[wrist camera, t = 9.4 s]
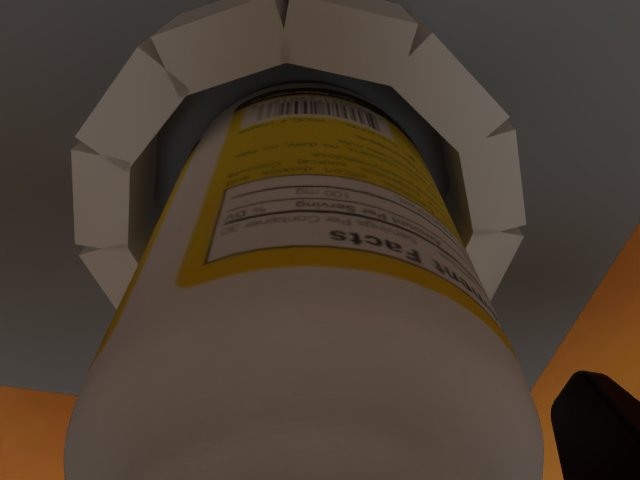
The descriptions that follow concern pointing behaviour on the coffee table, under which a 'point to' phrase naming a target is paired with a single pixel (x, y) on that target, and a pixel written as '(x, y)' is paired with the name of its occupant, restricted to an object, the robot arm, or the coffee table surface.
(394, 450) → the supplement bottle
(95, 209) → the mount plate
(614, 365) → the coffee table surface
